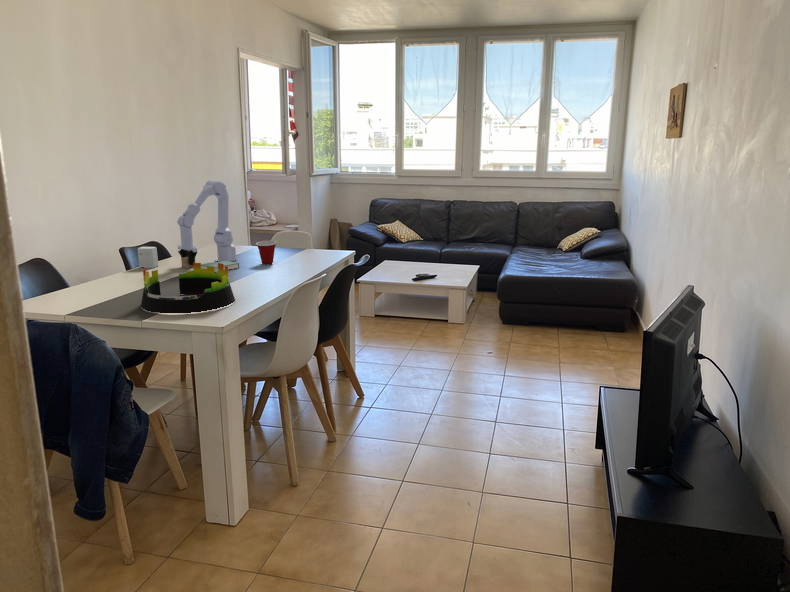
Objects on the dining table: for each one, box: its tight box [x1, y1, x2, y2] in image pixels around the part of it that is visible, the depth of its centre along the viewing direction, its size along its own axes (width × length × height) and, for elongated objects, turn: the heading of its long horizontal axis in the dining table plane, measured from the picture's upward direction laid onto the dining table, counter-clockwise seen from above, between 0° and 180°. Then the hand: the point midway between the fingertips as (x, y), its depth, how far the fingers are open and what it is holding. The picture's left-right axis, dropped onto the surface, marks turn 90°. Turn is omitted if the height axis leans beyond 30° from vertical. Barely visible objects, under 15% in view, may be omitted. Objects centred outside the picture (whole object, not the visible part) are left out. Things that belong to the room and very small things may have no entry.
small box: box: [137, 246, 159, 269], centre depth 322 cm, size 8×6×10 cm
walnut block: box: [180, 257, 196, 269], centre depth 325 cm, size 5×5×5 cm
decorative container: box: [140, 262, 236, 313], centre depth 249 cm, size 37×37×15 cm
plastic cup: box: [255, 240, 277, 265], centre depth 333 cm, size 11×11×12 cm
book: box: [201, 260, 240, 273], centre depth 320 cm, size 16×12×3 cm
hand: (188, 264), depth 325 cm, fingers closed on walnut block, 5 cm apart
